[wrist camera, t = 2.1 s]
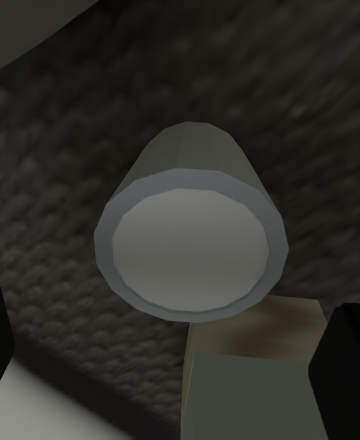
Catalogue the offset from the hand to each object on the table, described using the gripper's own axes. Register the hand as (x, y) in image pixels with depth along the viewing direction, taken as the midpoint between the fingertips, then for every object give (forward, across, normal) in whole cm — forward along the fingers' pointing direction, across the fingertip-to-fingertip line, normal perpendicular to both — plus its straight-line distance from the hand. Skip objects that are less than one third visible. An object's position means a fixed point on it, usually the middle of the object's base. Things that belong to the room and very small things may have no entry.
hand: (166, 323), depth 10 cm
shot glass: (+10, -1, 0) cm, 10 cm away
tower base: (+10, -6, +12) cm, 16 cm away
